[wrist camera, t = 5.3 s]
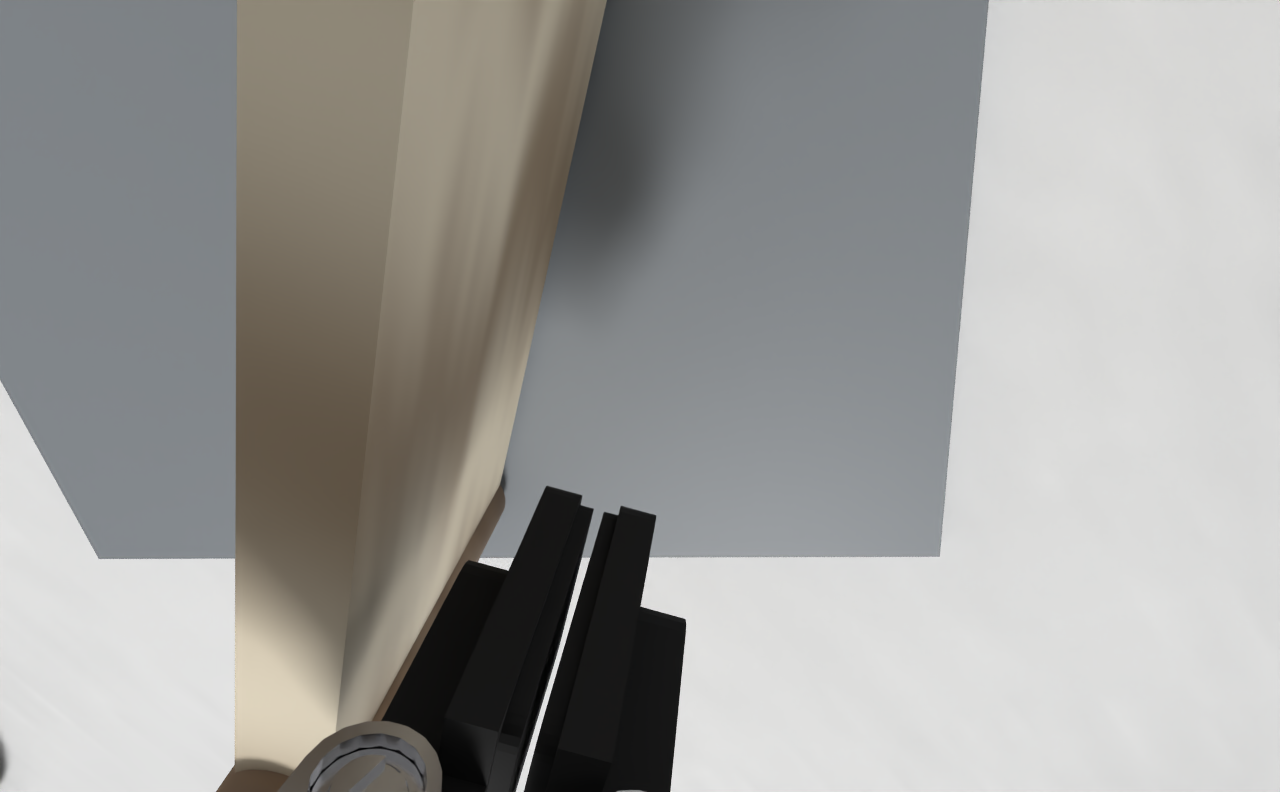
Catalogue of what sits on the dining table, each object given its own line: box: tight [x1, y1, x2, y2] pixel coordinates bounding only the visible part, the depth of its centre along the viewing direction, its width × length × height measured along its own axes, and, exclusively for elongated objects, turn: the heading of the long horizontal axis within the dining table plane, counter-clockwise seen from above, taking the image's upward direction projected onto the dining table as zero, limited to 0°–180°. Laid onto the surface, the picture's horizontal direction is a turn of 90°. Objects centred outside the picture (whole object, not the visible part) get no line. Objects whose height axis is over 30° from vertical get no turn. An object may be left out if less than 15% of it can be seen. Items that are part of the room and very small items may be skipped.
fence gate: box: [216, 0, 607, 792], centre depth 10 cm, size 12×2×7 cm, turn 165°
